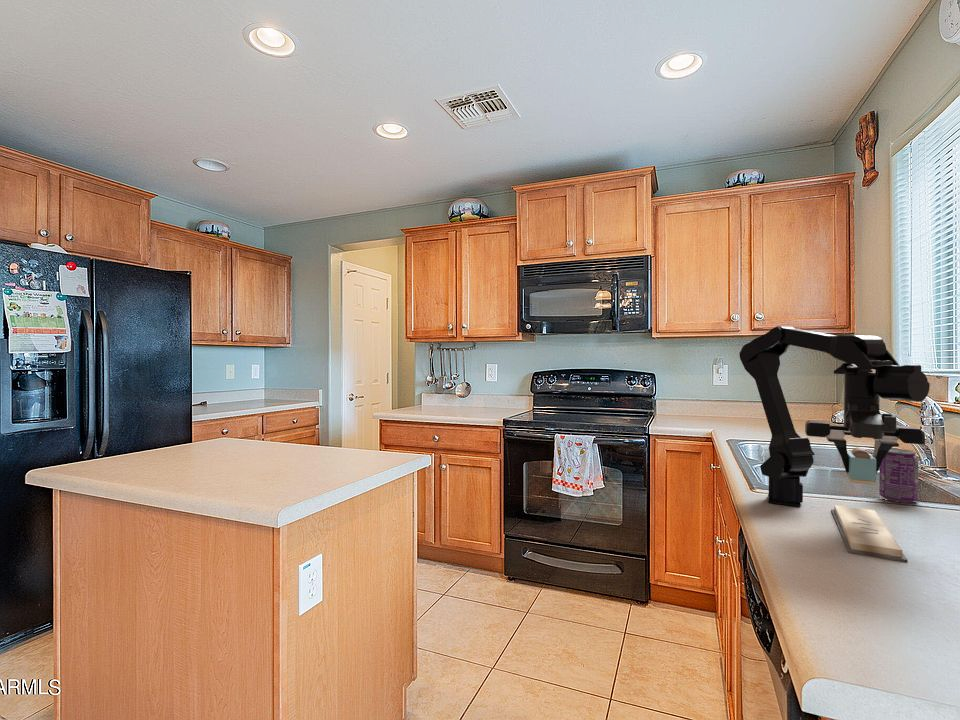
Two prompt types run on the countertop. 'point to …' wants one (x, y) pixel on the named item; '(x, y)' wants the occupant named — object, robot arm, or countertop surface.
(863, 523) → the board
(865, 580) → the countertop surface
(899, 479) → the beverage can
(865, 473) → the teal toaster
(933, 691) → the countertop surface
